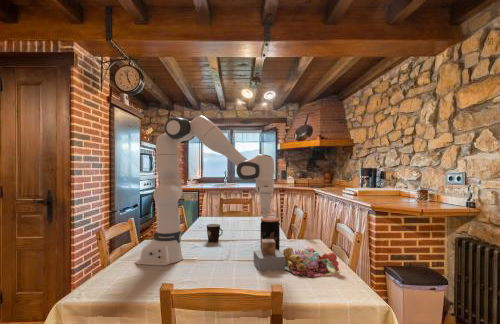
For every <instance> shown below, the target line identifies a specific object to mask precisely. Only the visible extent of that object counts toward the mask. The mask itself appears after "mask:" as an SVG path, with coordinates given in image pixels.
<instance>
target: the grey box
mask: <svg viewBox="0 0 500 324" xmlns="http://www.w3.org/2000/svg"><path fill="white" fill-rule="evenodd" d="M253 263H254V265H255V267H256V269H257V270H259V272H263V271H264V272H266V271H276V270H277V271H278V270H286V269H285V267H286V265H285V256H284V254H283V253H281V252H280V250H279V251H278V250H277V249H275V255H262V252H261V249H260V250H253Z"/></svg>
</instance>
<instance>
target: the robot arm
mask: <svg viewBox="0 0 500 324" xmlns="http://www.w3.org/2000/svg"><path fill="white" fill-rule="evenodd" d="M194 138H197V139H198V140H199V141H200V142H201V144H203V145H204V146H205V147H206V148H208V149H210V150H211V151H213V152H215V153H218V154H220V155H223V156H224V157H226V158H227V159H228V160H229V161H230V162H231V163H232V164H234V165H235V167H236V168H235V169H236V175H237V177H238V178H239V179H241V180H243V181H254V180H255V192H257V195H259V197H258V198H259V199H258V200H259V201H258V202H259V205H260V208H261V210H260V211H261V212H260V213H261V215H262V218H267V217H268V211H270V210H271V203H272V194H273V193H274V191H275V188H274V187H275V182H274V181H275V180H274V175H275V161H274V158H273V157H272V156H270V155H268V154H263V153H258V154H257V155H256V156H254V157H251V158H249V159H247V158H246V157H245V156H244V155H243V154H242V153H240V152H239V151H238V150H237V149H236V148H235V147H234V145H233V144H232V143H231V142H230V140H229V139H228V138H227V136H226V135H225V134H224V133H223V131H222V130H221V129H220V128H219V126H217V125H216V124H215V123H214V122H213V121H211V120H210V119H208V118H207V117H205V116H204V115H198V116H195V117H194V118H193V119H192V120H190V121H189V119H187V118H183V117H175V116H174V117H171V118H169V119H168V120H166V122H165V124H164V133H161V134H159V135H157V137H156V143H155V164H156V165H155V166H156V167H155V168H156V173H157V175H158V179H159V180H158V181H159V184H158V186H156V187H155V189H154V191H153V194H152V196H153V197H152V198H153V200H154V204H155V210H156V216H157V223H156V225H157V228H156V229H157V230H155V231H154V232H153V234H152V238H153V239H151V240H150V241H149V242H148V243H146V244H145V245H144V246H143V248H142V249H141V251H140V255H139V256H138V257H137V258H136V259H135V264H136V265H147V266H167V265H171V264H174V263H178V262H180V261H182V260H183V259H184V256H183V254H182V253H183V252H182V247H181V246H182V245H181V241H182V231H181V215H180V209H179V200H180V199H181V198H182V195H183V185H182V178H181V174H180V173H181V172H180V165H179V164H180V162H179V145H180V144H184V143H187V142H189V141H192V140H193V139H194Z"/></svg>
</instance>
